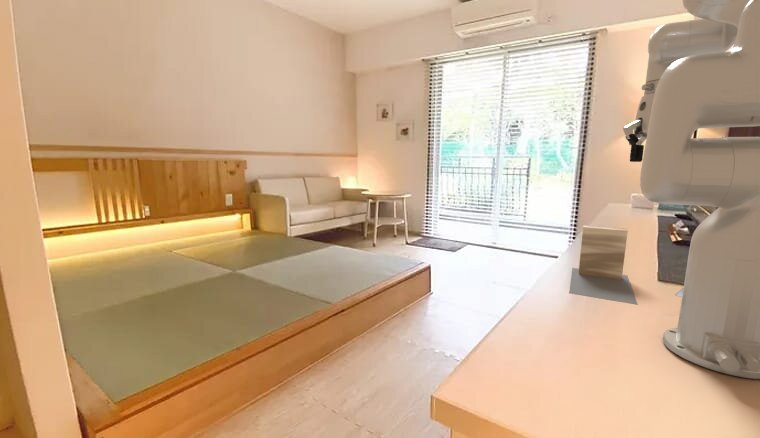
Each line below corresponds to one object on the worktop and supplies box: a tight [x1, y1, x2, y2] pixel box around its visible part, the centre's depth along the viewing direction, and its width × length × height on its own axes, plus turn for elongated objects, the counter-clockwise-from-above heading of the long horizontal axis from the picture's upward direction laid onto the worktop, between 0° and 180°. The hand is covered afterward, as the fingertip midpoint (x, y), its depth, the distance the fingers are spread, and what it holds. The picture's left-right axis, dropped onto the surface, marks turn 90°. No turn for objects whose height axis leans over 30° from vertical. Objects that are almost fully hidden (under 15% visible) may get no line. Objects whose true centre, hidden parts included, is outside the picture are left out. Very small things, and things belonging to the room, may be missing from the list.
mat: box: [568, 267, 639, 305], centre depth 81 cm, size 21×12×1 cm, turn 150°
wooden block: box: [578, 224, 628, 280], centre depth 86 cm, size 3×9×12 cm, turn 60°
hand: (654, 161), depth 87 cm, fingers open, 9 cm apart
